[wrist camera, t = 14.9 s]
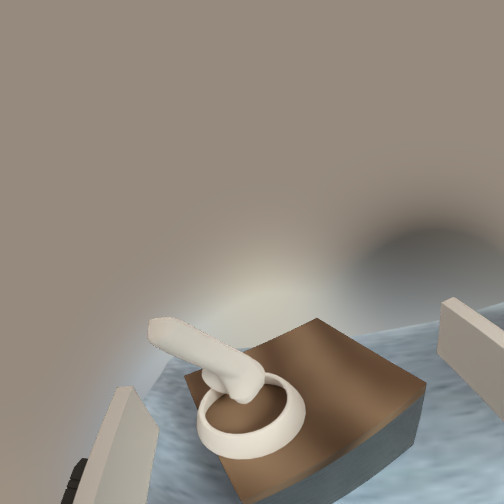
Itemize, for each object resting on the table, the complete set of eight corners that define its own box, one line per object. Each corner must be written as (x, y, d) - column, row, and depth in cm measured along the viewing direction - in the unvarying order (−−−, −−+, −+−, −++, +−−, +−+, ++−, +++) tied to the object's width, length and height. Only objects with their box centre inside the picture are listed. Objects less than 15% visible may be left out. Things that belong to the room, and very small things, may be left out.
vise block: (325, 375, 31) (316, 317, 29) (413, 444, 18) (426, 382, 16) (211, 430, 26) (184, 375, 24) (269, 535, 14) (240, 500, 12)
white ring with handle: (88, 432, 12) (112, 321, 16) (225, 454, 19) (232, 376, 24) (177, 463, 8) (200, 297, 13) (312, 459, 16) (314, 366, 20)
